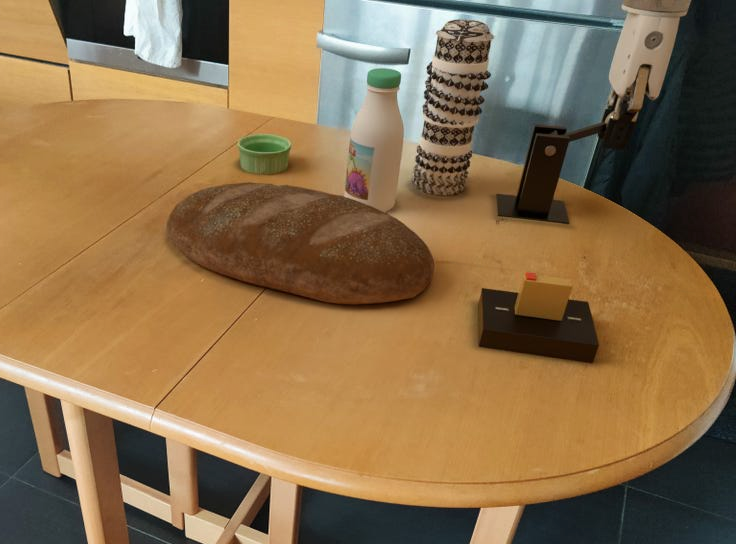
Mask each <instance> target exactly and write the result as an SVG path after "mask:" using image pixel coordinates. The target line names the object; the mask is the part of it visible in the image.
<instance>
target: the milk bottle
mask: <svg viewBox="0 0 736 544" xmlns="http://www.w3.org/2000/svg"><path fill="white" fill-rule="evenodd" d="M401 82H402V73H401V72H400V71H399V70H397V69H393V68H385V67H383V68H382V67H379V68H372V69H370V70H368V71H367V76H366V86H365V88H366V89H367V92H366V96H365V99H364V101H363V103H362V106H361V107H360V109H359V111H358V112H357V115H356V117H355V119H354V121H353V123H352V127H351V131H350V137H349V138H350V139H349V144H348V153H347V154H348V155H347V163H346V173H345V183H344V184H345V185H344V194H343V195H344V196H343V197H347V198H350V199H353V200H356V201H359V202H361V203H364V204H367V205H369V206H372V207H374V208H376V209H378V210H380V211H382V212H385V213H387V214H388V212H389V210H391V209H393V208H394V207H395V203H396V199H397V193H398V192H397V191H398V185H399V178H400V171H401V170H400V169H401V163H402V155H403V147H404V138H405V137H404V136H405V128H404V122H403V118H402V117H403V116H402V115H401V111H400V106H399V101H398V92H399V90H401V87H400V86H401Z"/></svg>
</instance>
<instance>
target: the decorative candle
mask: <svg viewBox="0 0 736 544" xmlns="http://www.w3.org/2000/svg"><path fill="white" fill-rule="evenodd" d="M435 35H436V36H437V37H436V38H437V39H436V44H435V51H434V53H433V55H432V61H430V62H429V64H428V65H427V66H426V74H427V75H429V76H428V77H427V79H426V80H425V81H424V84H425V90H424V91H423V98H424V99H425V101H424V103H423V105H422V114H421V118H422V119H423V127H422V133H421V134H420V137H419V144H418V145H417V146H416V153H417V155H416V156H415V159H414V162H415V163H416V164H415V165H414V166H413V169H412V170H413V171H412V173H413V175H412V177H411V183H412V185H413V186H414V187H415V188H416V189H417V190H418V191H422V193H427V194H430V195H432V196H435V195H436V196H440V197H443V196H447V197H448V196H449V197H450V196H451V195H458V194H459V193H461V192H463V191H464V190H465V188H466V187H467V185H466V184H467V181H466V180H467V179H468V178H469V171H468V169H469V168H470V167H471V161H470V159H471V158H472V157H473V150H472V148H473V147H472V146H473V141H474V138H473V134H474V130H475V126H476V125H478V124H479V121H480V116H478V115H481V114H482V113H483V109H482V108H481V107H480V105H482V104H483V103H485V101H486V99H485V98H484V97H483V96H482V95H481V92H484V91H486V90H488V89H489V84H488V83H487V82H486V80H489V79H490V78H491V76H492V73H491V72H489V70H488V67H489V62H490V58H489V55H490V52H491V45H492V41H493V40H494V39H495V35H494V34H492V33H491V31H490V28H489V26H488V25H487V24H486V23H485V22H482V21H480V20H474V19H465V18H464V19H462V18H461V19H452V20H448V21H447V22H446V23H445V24H444V25H443V27H441V29H440V30H439V29H438V30H437V31H436V32H435Z"/></svg>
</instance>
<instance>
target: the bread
mask: <svg viewBox="0 0 736 544" xmlns="http://www.w3.org/2000/svg"><path fill="white" fill-rule="evenodd" d="M165 229H166V231H167V234H168V236H169V238H170V239H171V241H172V242H173V244H174V245H175V246H176V247H177V248H178V249H179V251H181V252H182V253H183V254H184V255H185V256H186V257H187V258H188V259H190V260H191V261H192V262H195V263H196V264H198V265H199V266H202V267H203V268H205V269H207V270H210V271H212V272H215V273H217V274H220V275H223V276H226V277H229V278H232V279H235V280H237V281H241V282H244V283H248V284H252V285H254V286H259V287H263V288H267V289H272V290H275V291H280V292H284V293H290V294H293V295H297V296H300V297H301V296H302V297H305V298H308V299H312V300H317V301H320V302H324V303H329V304H330V303H331V304H337V305H373V304H374V305H375V304H382V303H390V302H397V301H401V300H407V299H412V298H415V297H416V296H418V295H419V294H421V293H422V292H423V291H425V289H426V288H427V286H428V284H429V283H430V282H431V279H433V276H434V273H435V267H436V266H435V259H434V256H433V255H432V252H431V251H430V248H429V246H428V245H427V244H426V243H425V242H424V241H423V239H422V238H421V237H420V236H419V235H418V234H417V233H416V232H415V231H413V230H412V229H411V228H410V227H408V226H407V225H406V224H405V223H404V222H402V221H401V220H399V219H398V218H396V217H394V216H393V215H390V214H389V213H388V212H387V213H385V212H382V211H380V210H378V209H376V208H374V207H372V206H369V205H367V204H364V203H361V202H359V201H356V200H353V199H350V198H347V197H344V196H343V195H337V194H334V193H329V192H324V191H321V190H316V189H311V188H306V187H301V186H295V185H289V184H282V185H277V184H273V183H266V182H265V183H264V182H263V183H262V182H249V181H248V182H247V181H246V182H236V183H228V184H221V185H216V186H215V185H214V186H211V187H206V188H203V189H200V190H197V191H195V192H193V193H191V194H189V195H187V196H186V197H185V198H183V199H182V200H180V201H179V202H178V203H176V205H175V206H174V207H173V209H172V210H171V212H170V213H169V216H168V219H167V221H166V227H165Z"/></svg>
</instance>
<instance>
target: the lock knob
mask: <svg viewBox="0 0 736 544" xmlns="http://www.w3.org/2000/svg"><path fill="white" fill-rule="evenodd" d="M572 290H573V282H572V279H570V278H563V277H555V276H547V275H539V274H536V273H535V272H527V271H526V272H525V273H523V274H522V279H521V282H520V285H519V290H518V292H517V293H518V296H517V300H516V304H515V307H514V308H515V315H521V316H529V317H536V318H543V319H551V320H558V321H562V318H563V315H564V312H565V309H566V306H567V303H568V300H569V299H570V295H571V294H572Z"/></svg>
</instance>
